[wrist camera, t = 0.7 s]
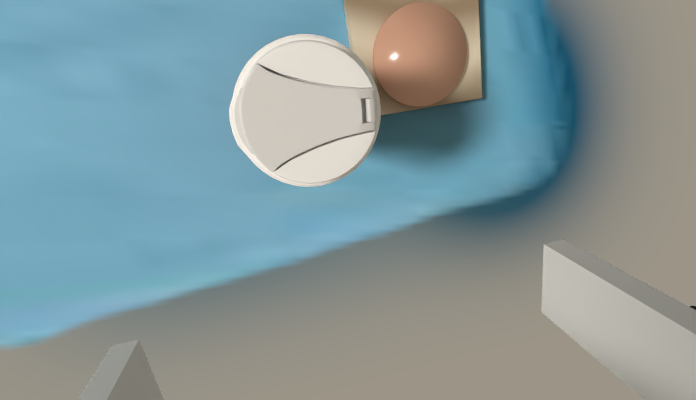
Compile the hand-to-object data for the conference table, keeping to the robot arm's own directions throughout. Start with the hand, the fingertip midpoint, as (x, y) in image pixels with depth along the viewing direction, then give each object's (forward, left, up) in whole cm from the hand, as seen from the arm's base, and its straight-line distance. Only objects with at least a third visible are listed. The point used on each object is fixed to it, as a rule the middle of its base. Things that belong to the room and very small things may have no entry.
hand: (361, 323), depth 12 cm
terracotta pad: (-9, +11, -21) cm, 25 cm away
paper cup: (-6, 0, -22) cm, 23 cm away
